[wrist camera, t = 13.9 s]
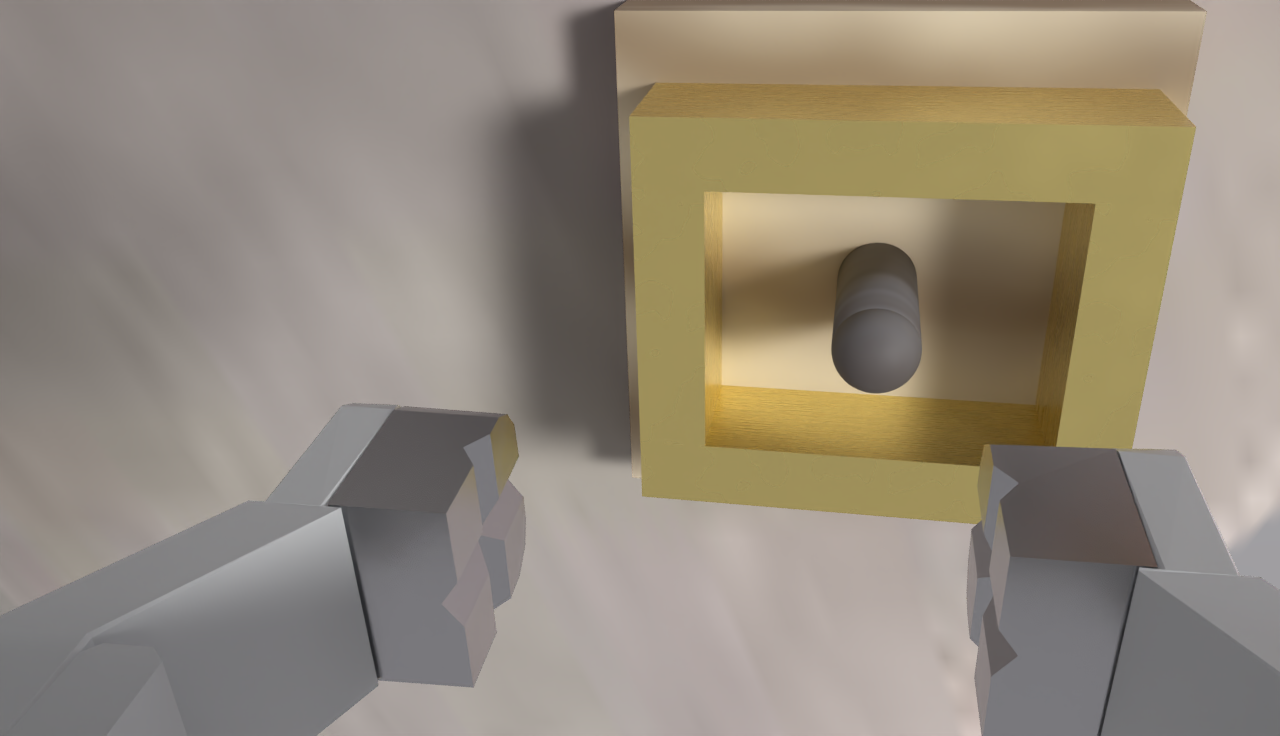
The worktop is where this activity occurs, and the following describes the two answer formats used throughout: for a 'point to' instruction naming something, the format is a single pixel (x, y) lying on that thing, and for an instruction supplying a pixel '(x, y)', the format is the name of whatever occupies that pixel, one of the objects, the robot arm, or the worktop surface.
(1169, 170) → the brass link
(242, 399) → the worktop surface
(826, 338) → the keeper base
